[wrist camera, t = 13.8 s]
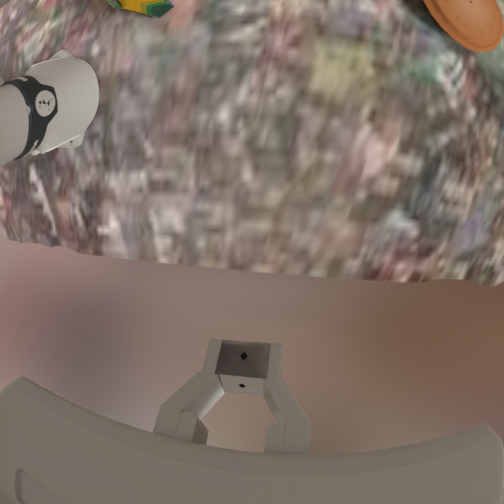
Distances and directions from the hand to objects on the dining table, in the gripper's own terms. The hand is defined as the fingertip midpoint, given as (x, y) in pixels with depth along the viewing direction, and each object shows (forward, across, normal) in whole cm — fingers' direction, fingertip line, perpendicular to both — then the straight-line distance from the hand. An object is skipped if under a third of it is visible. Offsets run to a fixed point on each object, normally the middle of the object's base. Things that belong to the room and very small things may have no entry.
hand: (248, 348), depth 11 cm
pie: (+32, -26, -26) cm, 48 cm away
